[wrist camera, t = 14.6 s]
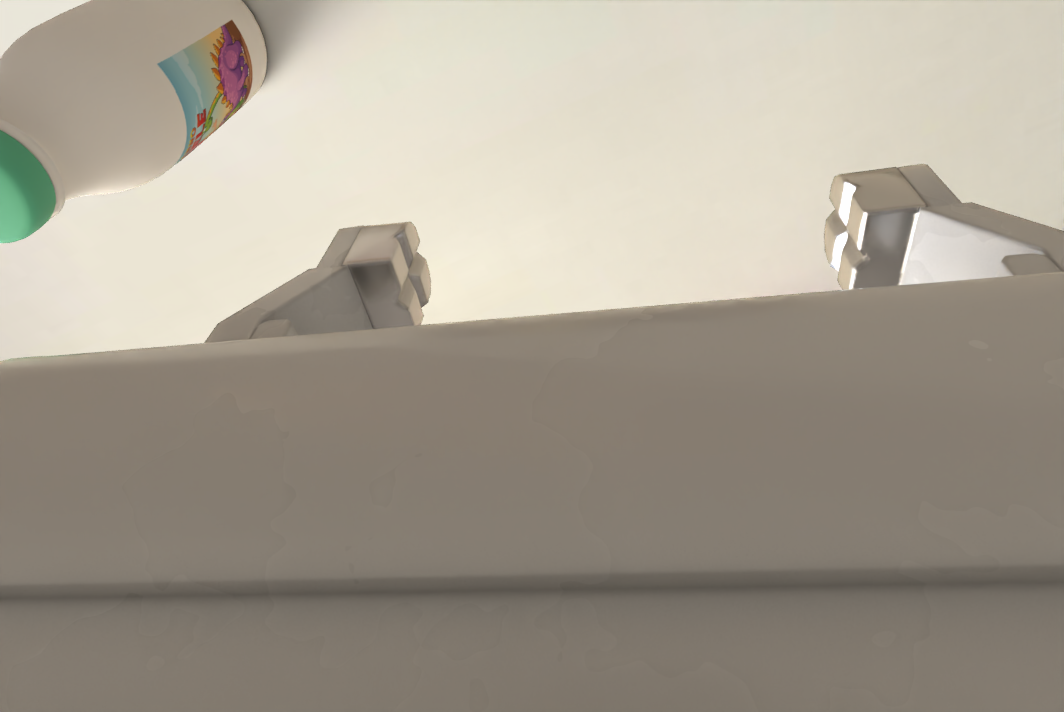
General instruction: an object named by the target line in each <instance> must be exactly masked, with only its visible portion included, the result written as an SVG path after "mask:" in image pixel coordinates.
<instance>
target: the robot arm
mask: <svg viewBox="0 0 1064 712" xmlns="http://www.w3.org/2000/svg"><path fill="white" fill-rule="evenodd" d="M829 199H830V200H831V202H832V204H833V206H834V208H835V210H834V211H833V212H832V213H831V215H830V216H829V217H828V218H827V219H826V224H825V233H824V243H825V253H826V257H827V260H828V262H829V264H830V266H831V267H832V268H834V269H836V270H838V271H839V273H838V279H837V281H838V283H839V285H840V286H841V288H842V290H837V291H825V292H813V293H801V294H789V295H777V296H765V297H753V298H741V299H729V300H717V301H705V302H693V303H681V304H669V305H657V306H645V307H633V308H621V309H609V310H597V311H585V312H573V313H561V314H548V315H536V316H524V317H512V318H500V319H488V320H476V321H464V322H452V323H440V324H428V325H421V323H422V320H423V317H424V315H423V312H422V309H421V308H422V307H423V306H424V305H426V304H427V303H428V301H429V297H430V294H431V279H430V273H429V268H428V265H427V261H426V259H425V258H424V257H422V256H421V255H420V254H419V253H418V252H416V251H417V248H418V246H419V243H420V239H419V236H418V233H417V230H416V227H415V226H414V225H413V224H412V222H402V223H391V224H380V225H369V226H363V225H362V226H356V227H349V228H343V229H339V230H338V232H337V234H336V235H335V237H334V239H333V240H332V242H331V244H330V246H329V247H328V249H327V251H326V252H325V254H324V256H323V257H322V259H321V261H320V263H319V264H318V266H317V268H314V269H308V270H307V271H305V272H303V273H302V274H300V275H298V276H297V277H295V278H293V279H292V280H290V281H288V282H287V283H285V284H283V285H282V286H280V287H278V288H277V289H275V290H273V291H272V292H270V293H268V294H267V295H265V296H263V297H262V298H260V299H258V300H257V301H255V302H253V303H252V304H250V305H248V306H247V307H245V308H243V309H241V310H240V311H238V312H236V313H235V314H233V315H231V316H230V317H228V318H226V319H225V320H223V321H221V322H220V323H218V324H217V326H216V327H215V328H214V330H213V331H212V333H211V334H210V335H209V337H208V338H207V340H206V341H205V343H201V344H189V345H177V346H166V347H154V348H142V349H130V350H118V351H106V352H94V353H82V354H70V355H58V356H38V357H24V358H13V359H8V360H3V361H0V712H1064V231H1062V230H1058V229H1055V228H1052V227H1049V226H1046V225H1042V224H1039V223H1036V222H1033V221H1030V220H1026V219H1023V218H1020V217H1017V216H1013V215H1010V214H1007V213H1004V212H1001V211H997V210H994V209H991V208H988V207H985V206H981V205H978V204H975V203H972V202H971V203H961V201H960V200H959V199H958V198H957V197H956V196H955V195H954V194H953V193H952V191H951V190H950V189H949V188H948V187H947V186H946V185H945V184H944V183H943V181H942V180H941V179H940V178H939V177H938V176H937V175H936V174H935V173H934V171H933V170H932V169H931V168H930V167H929V166H928V165H926V164H917V165H910V166H904V167H897V168H896V167H892V168H884V169H877V170H869V171H862V172H854V173H847V174H839V175H837V176H835V177H834V179H833V182H832V185H831V190H830V196H829Z"/></svg>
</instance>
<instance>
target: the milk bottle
mask: <svg viewBox="0 0 1064 712" xmlns="http://www.w3.org/2000/svg"><path fill="white" fill-rule="evenodd" d="M266 69H267V52H266V47H265V41H264V38H263V35H262V33H261V30H260V27H259V25H258V23H257V22H256V20H255V18H254V16H253V14H252V13H251V11H250V10H249V9H248V8H247V6H246V5H245V3H244V2H243V1H242V0H91V1H89V2H87V3H84V4H82V5H80V6H78V7H75V8H73V9H71V10H68V11H66V12H64V13H62V14H60V15H58V16H56V17H54V18H52V19H50V20H48V21H46V22H44V23H42V24H40V25H38V26H36V27H34V28H32V29H31V30H29V31H28V32H27V33H25V34H24V35H23V36H21V37H20V38H19V39H17V40H16V41H15V42H14V43H13V44H12V45H11V46H10V47H9V48H8V49H7V50H6V51H5V53H4V54H3V56H2V57H1V59H0V243H10V242H15V241H18V240H21V239H24V238H26V237H28V236H29V235H31V234H32V233H34V232H35V231H37V230H38V229H39V228H41V227H42V226H43V225H44V224H45V223H46V222H47V221H48V220H49V219H50V218H52V217H54V216H56V215H57V214H58V213H59V212H60V211H61V209H62V208H63V205H64V203H65V201H66V200H69V199H72V198H75V197H80V196H86V195H99V194H110V193H117V192H122V191H126V190H130V189H134V188H136V187H139V186H141V185H144V184H146V183H148V182H150V181H152V180H154V179H155V178H157V177H159V176H161V175H163V174H164V173H165V172H166V171H168V170H169V169H170V168H172V167H173V166H174V165H176V164H177V163H178V162H179V161H181V160H182V159H183V158H185V157H186V156H187V155H188V154H189V153H190V152H192V151H193V150H194V149H195V148H196V147H197V146H199V145H200V144H201V143H202V142H203V141H204V140H205V139H207V138H208V137H209V136H210V135H211V134H212V133H213V132H215V131H216V130H217V129H218V128H219V127H220V126H221V125H222V124H224V123H225V122H226V121H227V120H228V119H229V118H230V117H231V116H233V115H234V114H235V113H236V112H237V111H238V110H239V109H240V108H241V107H242V106H244V105H245V104H246V103H247V102H248V101H249V100H250V99H251V98H252V97H253V96H254V95H255V94H256V93H257V91H258V90H259V89H260V87H261V85H262V83H263V81H264V78H265V74H266Z"/></svg>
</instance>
